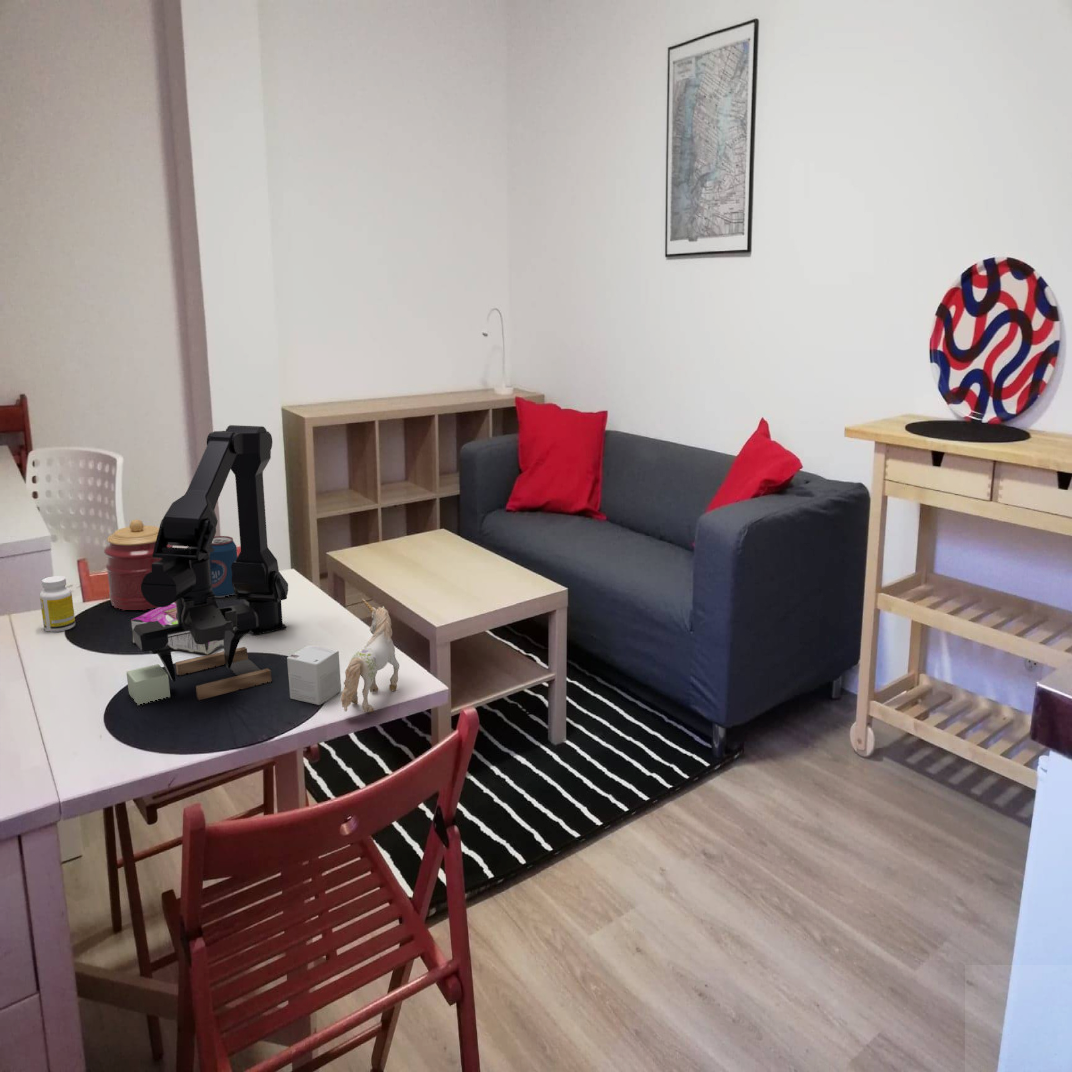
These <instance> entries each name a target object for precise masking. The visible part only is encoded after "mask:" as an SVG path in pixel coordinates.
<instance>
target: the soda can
mask: <svg viewBox="0 0 1072 1072" xmlns="http://www.w3.org/2000/svg"><path fill="white" fill-rule="evenodd" d="M211 546H212V547H213V548H214V551H213V552H212V553H210V554H209V556H210V568H211V580H212V591H213V593H214V594H215V598H226V597H225V596H228V597H230V596H229V595H232V596H234V595H235V592H234V589H233V585H232V569H231V565H232V563H233V562H235V561H236V559H237V557H238V550H237V548H238V547H237V544H236V543H235V541H234V539H233V537H231V536H229V535H228V536H227V535H217V536H216V535H215V536H214V539H213V541H212V544H211Z"/></svg>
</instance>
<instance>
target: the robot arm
mask: <svg viewBox="0 0 1072 1072" xmlns="http://www.w3.org/2000/svg"><path fill="white" fill-rule="evenodd" d="M272 447H273V436H272V434H271V433H270V431H268V430H267V428H266V427H265V426H263V425H262V426H261V425H260V426H259V425H258V426H257V425H234V424H233V425H231V424H229V425H228V426H227V427H226V429H225V430H218V431H213V432H209V433H208V435H207V437H206V447H205V450H204V452H203V454H202V456H201V459H200V461H199V463H198V465H197V467H196V469H195V472H194V474H193V477H192V478H191V481H190V483H189V485H188V488H187V490H186V492H185V493H184V494H183V495H182V496H181V497H179V498H178V499H176V500H175V501H173V502H171V505H170V506H169V507H168V508H167V511H166V512H165V514H164V516H163V518H162V520H160V524H159V527H158V528H159V531H158V535H157V539H156V543H155V547H154V551H153V555H152V557H153V558H162V560H160V561H157V562H154V563H152V565H151V569H152V572H150V573H148V574H147V575H146V576H145V577H144V578H143V580H142V584H141V591H142V594H143V596H144V598H145V599H146V600H147V601H148V602H149V603H150V604H152V605H154V606H157V607H167V606H169V605H171V604H172V603H174V602H176V608H177V613H176V619H177V620H178V624H174V625H169V626H164V627H163V626H162V625H161V623H160V622H159V621H154V622H149V623H144V624H139V625H136V626H135V628H134V629H133V638H132V640H133V639H134V642H135V643H134V644H136V646H137V647H138V648H139V649H140V650H141V651H142V652H149V653H150V654H152V655H157V656H158V657H159V659H160V660H161V663H162V664H163V667H164V668H165V671H166V673H167V674H168V677H170V680H171V681H172V682H173V683H174V682H176V681H177V680H176V679H177V678H176V669H175V667H174V662H173V657H172V650H173V649H172V648H171V647H170V646H169V645H168V644H167V643H168V638H170V637H175V636H180V635H184V634H189V633H191V635H192V637H193V639H194V641H195V643H197V644H200V645H202V644H206V643H207V642H212V641H216V640H218V641H220V640H223V641H224V645H223V652H224V657H225V663H226V665H225V666H226V668H227V669H228V670H230V669H229V668H231V665H232V661H233V658H234V655H235V652H236V649H237V648H238V645H239V644H240V641H241V639H243V637H244V636H245V635H247V634H252V635H254V636H257V635H262V634H266V633H270V632H276V631H279V630H284V629H286V628H287V625H286V624H285V623H284V622H283V609H282V607H283V606H282V601H284V600H287V599H288V593H289V583H288V581H286V579H285V578H284V576H283V575H282V574H281V572H280V569H279V563H278V559H277V558H276V557H275V555H274V554H273V552H272V551H271V550H270V549H269V546H268V536H267V535H268V533H267V518H266V504H265V502H266V501H265V491H264V490H265V489H264V488H265V487H264V475H263V474H264V471H265V470H266V467H267V465H268V464H269V462H270V460H271V459H272V458H271V457H272V456H271V455H272V452H271V451H272V449H273V448H272ZM230 471H231V472H232V473H233V475H234V478H235V490H236V505H237V516H238V517H237V518H238V527H239V528H238V529H239V532H238V533H239V542H240V552H239V554H237V559H236V561H235V562H233V563H232V565H231V569H232V585H233V589H234V592H235V594H234V595H235V598H236V600H238V601H240V600H243V603H241V604H235V605H228V606H225V607H224V606H223V607H219V606H218V603H217V601H216V597H215V594H214V593H213V591H212V580H211V568H210V556H209V554H210V553H212V552H213V551H214V548H213V547H212V546H211V544H212V541H213V539H214V537H215V536H216V533H217V525H218V518H217V514H216V510H215V508H216V506H217V503H218V500H219V498H220V496H221V493H222V490H224V486H225V484H226V481H227V478H228V476H229V475H230ZM168 544H169V545H172V546H173V547H167V545H168ZM175 546H176V547H175Z"/></svg>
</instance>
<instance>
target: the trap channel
mask: <svg viewBox="0 0 1072 1072" xmlns="http://www.w3.org/2000/svg"><path fill="white" fill-rule="evenodd" d="M232 662H234V663H232V665H231V668H230V669H229V670H230V671H231V672H232V671H233V672H232V673H233V674H234V673H235V674H234V675H235V676H231V677H227V678H223V679H219V680H214V681H210V682H206V683H202V684H199V685H195V693H196V698H197V700H198V701H201V700H204V699H209V698H213V697H217V696H220V695H225V694H228V693H232V692H236V691H239V689H241V690H243V689H248V688H251V687H256V686H259V685H263V684H262V683H264V684H267V682H268V683H271V681H272V671H271V669H269V668H263V669H260V668H259V667H258V666H257V664H255V663H254V662H253V661H252V660H251V659H250V658H249V657H248V648H246V646H242V647H237V648H236V652H235V655H234V658H233V661H232ZM224 664H226V663H225V657H224V651H220V652H214V653H212V654H211V653H209V654H205V655H201V656H199V657H193V658H189V659H185V660H179V661H177V662H176V661H175V674H176V675H177V676H178V675H179V676H183V675H187V674H186V673H188V674H192V673H196V672H200V671H205V670H208V668H209V669H213V668H217V667H220V666H221V665H222V666H225V665H224ZM215 666H216V667H215ZM204 669H205V670H204ZM236 675H237V676H236ZM255 685H256V686H255Z"/></svg>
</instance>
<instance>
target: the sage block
mask: <svg viewBox="0 0 1072 1072" xmlns="http://www.w3.org/2000/svg"><path fill="white" fill-rule="evenodd" d="M126 679H127V680H126V681H127V687H128V689H127V690H128V695H130V697H131V699H132V698H133V699H134V700H133V699H132V700H133V701H134V703H137V704H136V705H137V706H141V705H140V704H142V705H144V704H143V703H145V704H148V702H149V703H151V702H150V701H153V702H156V701H155V700H157V701H159V700H158V699H161V700H164V699H163V698H165V699H167V698H166V697H168V698H171V690H170V680H169V674H168V672H167V671H166V669H164V668H163V667H162V666H161V665H160V664H159V663H157V664H152V665H147V666H143V667H140V668H136V669H131V670H127V671H126Z"/></svg>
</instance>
